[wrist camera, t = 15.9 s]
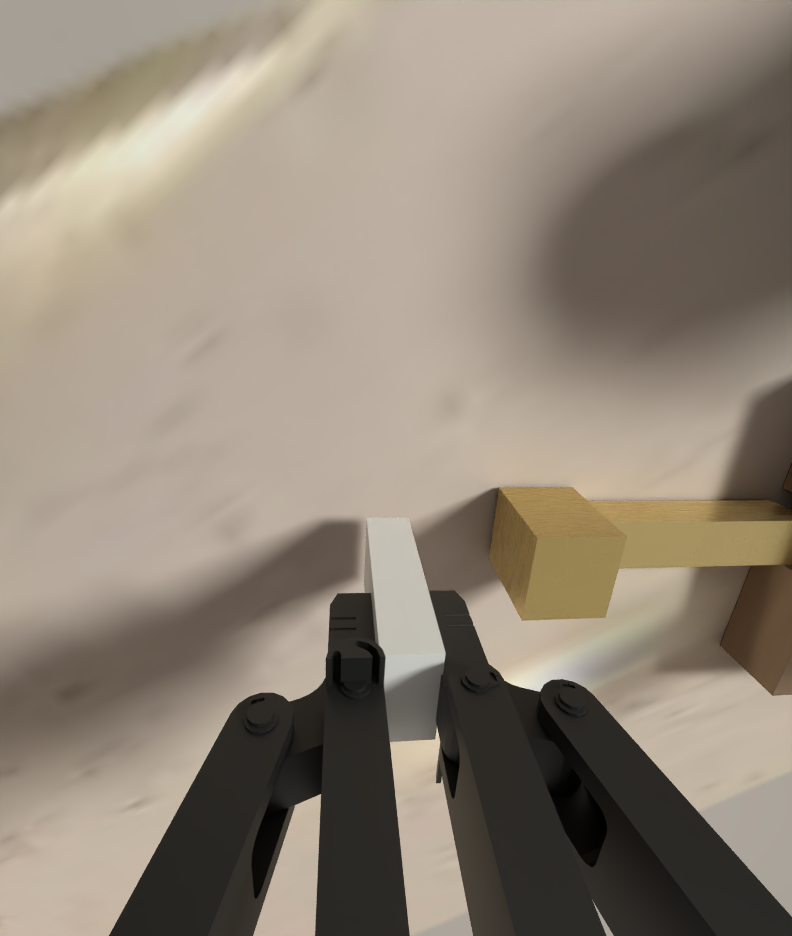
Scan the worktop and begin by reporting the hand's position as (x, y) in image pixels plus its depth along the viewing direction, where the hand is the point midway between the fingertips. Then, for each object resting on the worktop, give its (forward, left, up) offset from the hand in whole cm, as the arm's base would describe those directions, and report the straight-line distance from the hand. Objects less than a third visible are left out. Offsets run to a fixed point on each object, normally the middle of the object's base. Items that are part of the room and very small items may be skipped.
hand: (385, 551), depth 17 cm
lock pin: (+10, 0, -1) cm, 11 cm away
